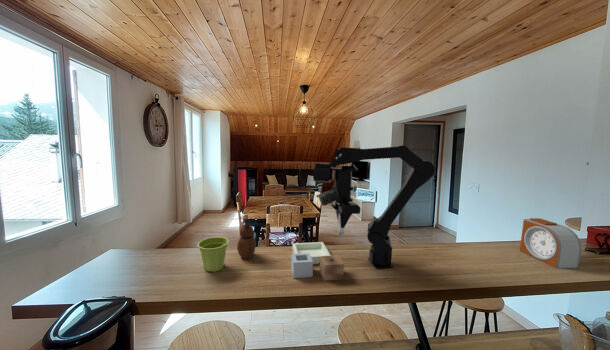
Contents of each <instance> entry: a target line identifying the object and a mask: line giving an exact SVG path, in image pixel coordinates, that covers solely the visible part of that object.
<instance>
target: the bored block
mask: <svg viewBox="0 0 610 350" xmlns="http://www.w3.org/2000/svg"><path fill="white" fill-rule="evenodd" d="M290 259H291V260H290V261H291V262H290V265H291V266H290V269H291V274H292V278H293V279H301V278H303V279H304V278H312V277H314V275H313V273H314V264H313V260H312V258H311V256H310V253H300V254H293V253H291V257H290Z"/></svg>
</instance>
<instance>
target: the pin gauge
mask: <svg viewBox="0 0 610 350" xmlns="http://www.w3.org/2000/svg"><path fill="white" fill-rule="evenodd" d="M337 222H338V223H337V225H338V227H337V236H339V237H343V236H345V227H344V228H341V224H340V215H339V219H337Z"/></svg>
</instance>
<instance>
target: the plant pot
mask: <svg viewBox="0 0 610 350" xmlns="http://www.w3.org/2000/svg"><path fill="white" fill-rule="evenodd" d="M229 243H230V242H229V239H228V238H227V237H223V236H214V237H207V238H205V239H202V240H200V241H199V242H198V243H197V247H198V248H199V251H200V253H201V259H202V264H203V265H202V266H203V269H204V271H206V272H214V273H216V272H218V271H220V270H222V269H223V268H224V266H225V258H226V251H227V247H228V244H229Z"/></svg>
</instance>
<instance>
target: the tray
mask: <svg viewBox="0 0 610 350" xmlns="http://www.w3.org/2000/svg"><path fill="white" fill-rule="evenodd" d="M291 250H292V254H300V253H310V256H311V258H312V260H313V265H320V264H319V263H320V256H332V255H331V253H330V251H329V250H328V249H327V246H326V245H325V244H324V241H316V242H300V243H299V242H296V243H292V249H291Z"/></svg>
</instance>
